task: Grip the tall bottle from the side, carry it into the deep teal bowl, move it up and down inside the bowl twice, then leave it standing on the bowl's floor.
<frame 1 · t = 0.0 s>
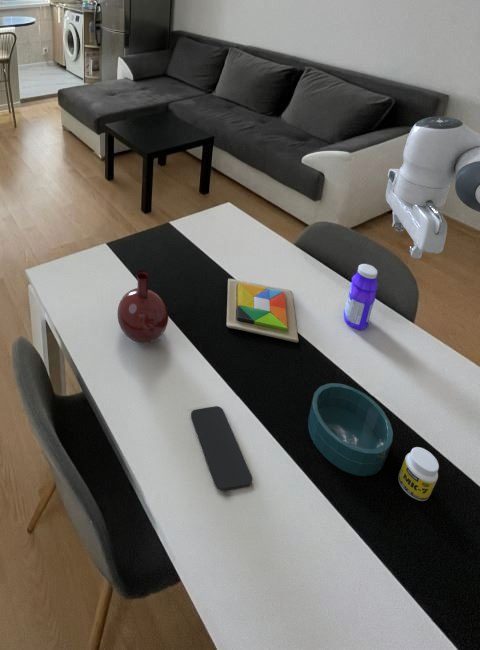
hand: (405, 242, 96), 31 cm above the table, tool pointing down, fingers open, 8 cm apart
wooden puzzle: (259, 311, 119), on the table
bottle: (354, 321, 114), on the table
phone: (219, 447, 88), on the table
teal bowl: (345, 438, 88), on the table
supplement bottle: (413, 487, 80), on the table
round-bottom flask: (142, 334, 114), on the table
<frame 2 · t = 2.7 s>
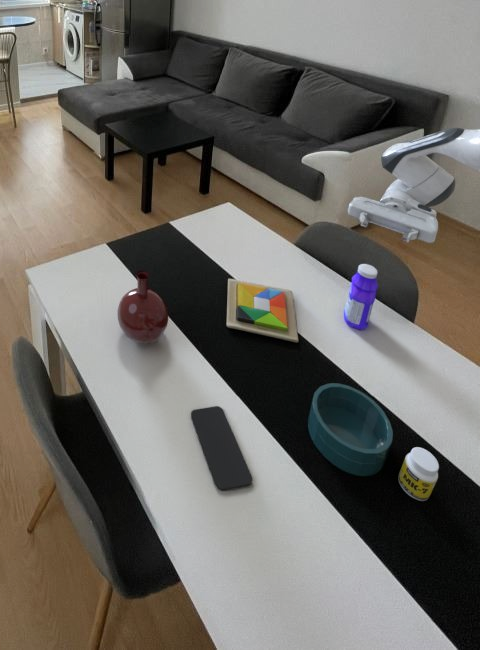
hand: (384, 231, 113), 22 cm above the table, tool horizontal, fingers open, 8 cm apart
nothing on the table moved.
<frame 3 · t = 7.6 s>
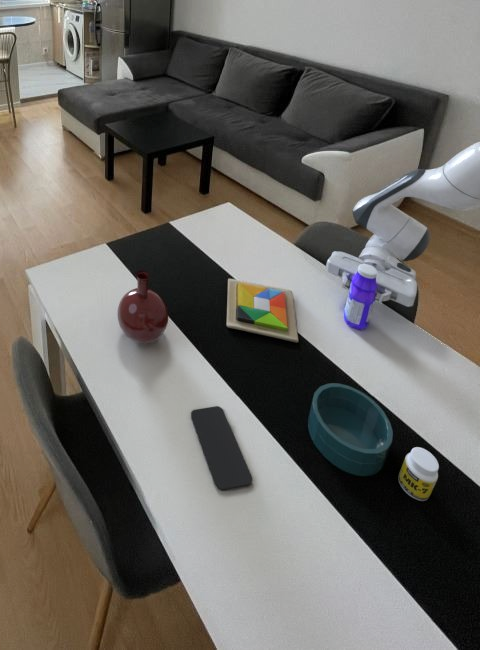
hand: (361, 293, 110), 10 cm above the table, tool horizontal, fingers closed on bottle, 6 cm apart
bottle: (354, 321, 114), on the table, touching gripper
everything else where it was.
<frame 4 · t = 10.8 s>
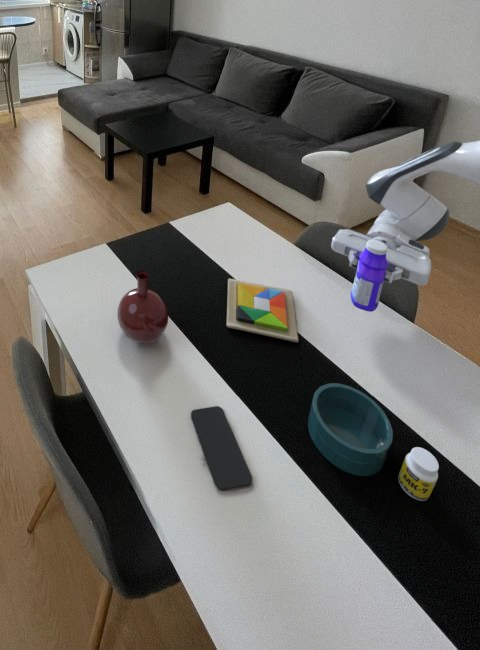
hand: (370, 272, 101), 22 cm above the table, tool horizontal, fingers closed on bottle, 6 cm apart
bottle: (363, 302, 105), point 11 cm above the table, touching gripper
everything else where it was.
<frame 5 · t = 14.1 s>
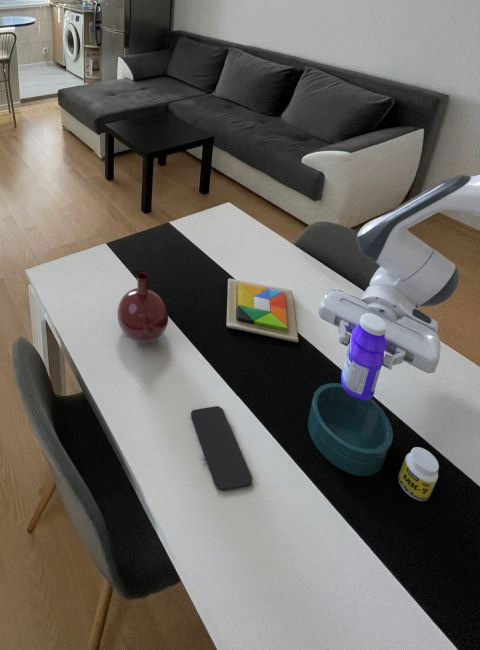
hand: (364, 353, 82), 22 cm above the table, tool horizontal, fingers closed on bottle, 6 cm apart
bottle: (356, 386, 86), point 12 cm above the table, touching gripper
everything else where it was.
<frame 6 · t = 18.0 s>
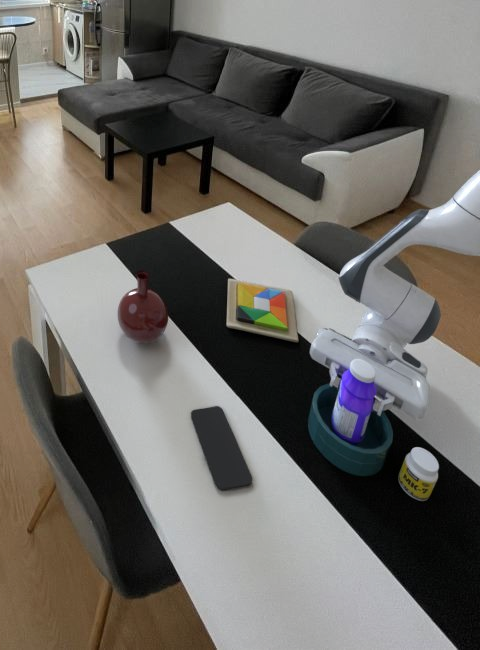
hand: (354, 398, 83), 13 cm above the table, tool horizontal, fingers closed on bottle, 6 cm apart
bottle: (346, 428, 87), point 3 cm above the table, touching gripper
everything else where it was.
when the fingers open (11 cm above the table, at t = 21.1 s): bottle stays where it is, resting on teal bowl.
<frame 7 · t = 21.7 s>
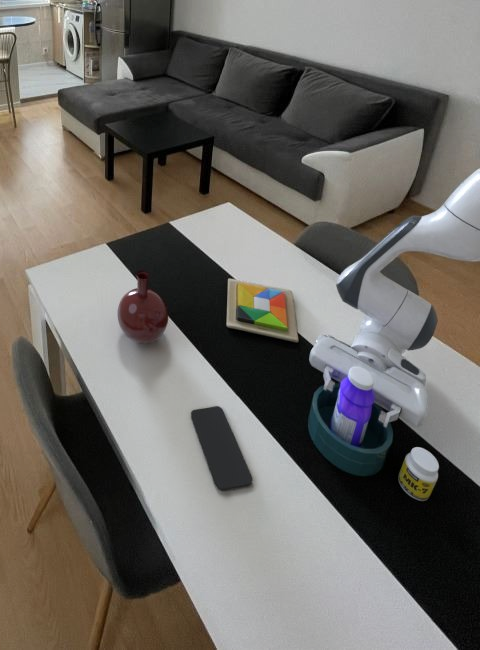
hand: (353, 405, 83), 11 cm above the table, tool horizontal, fingers open, 8 cm apart
bottle: (345, 435, 88), point 1 cm above the table, touching teal bowl
everything else where it was.
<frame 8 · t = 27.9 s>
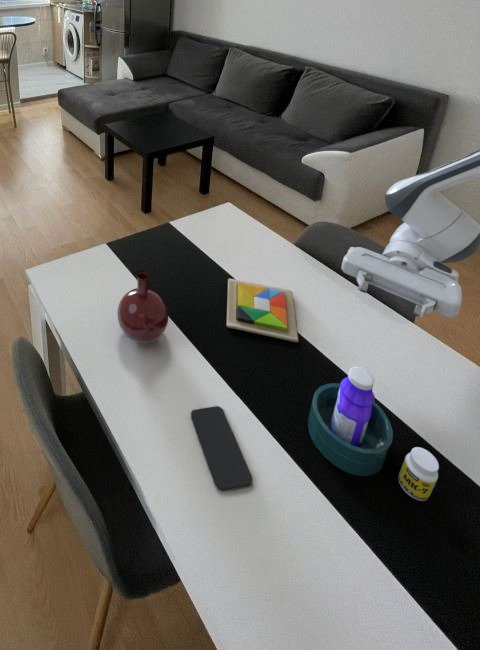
hand: (389, 301, 85), 28 cm above the table, tool horizontal, fingers open, 8 cm apart
nothing on the table moved.
at the end: bottle 0.1 cm off-centre in the teal bowl, point 0.6 cm above the teal bowl's base; bottle tilted 0°; the gripper is holding nothing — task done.
